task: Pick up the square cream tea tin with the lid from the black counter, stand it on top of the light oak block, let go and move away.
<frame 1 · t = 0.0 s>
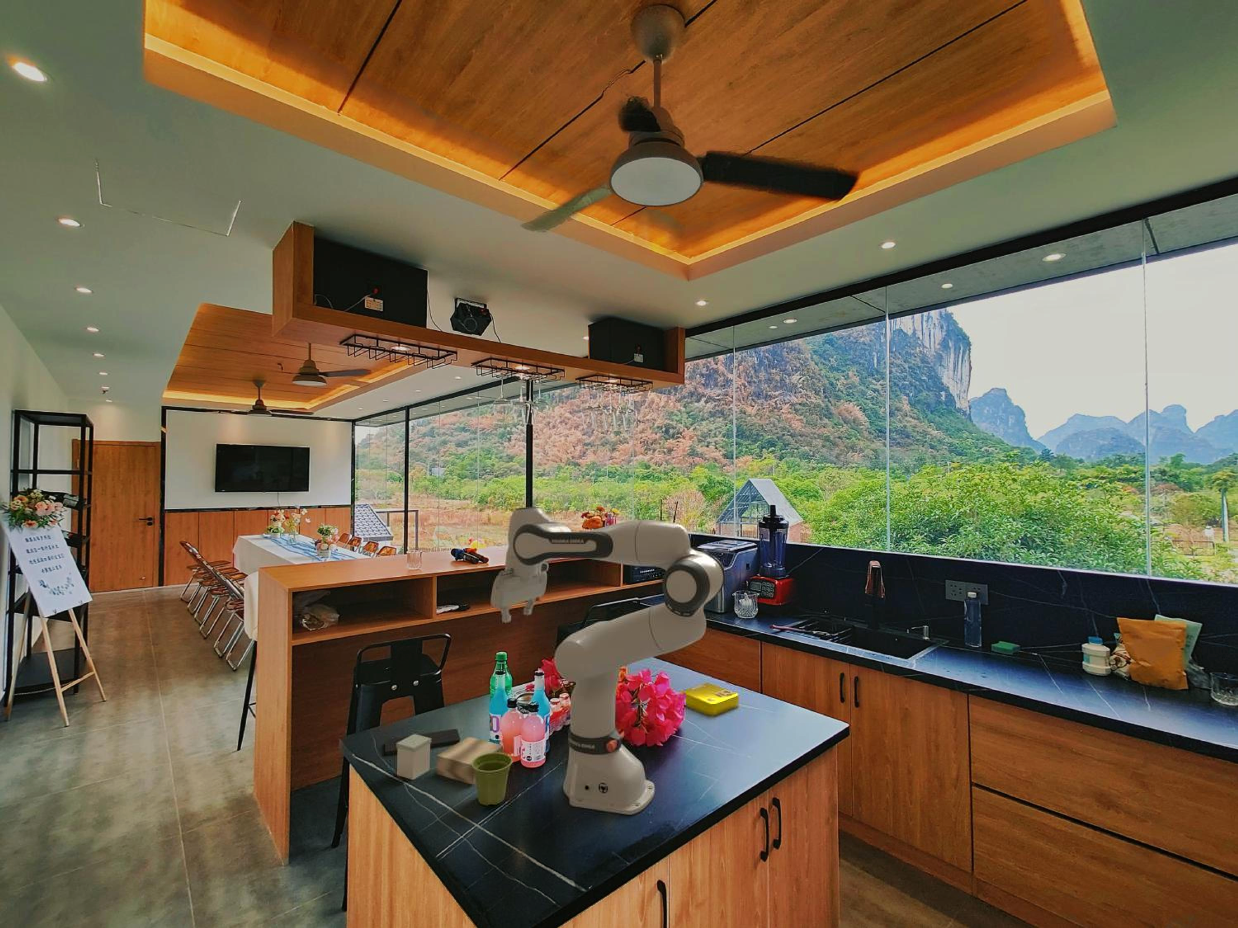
hand: (517, 617, 149), 39 cm above the kitchen island, tool pointing down, fingers open, 8 cm apart
element tile: (709, 705, 190), on the kitchen island
smart home device: (422, 745, 160), on the kitchen island
cream tea tin: (413, 772, 144), on the kitchen island
oak block: (470, 769, 146), on the kitchen island
plant pot: (491, 799, 132), on the kitchen island
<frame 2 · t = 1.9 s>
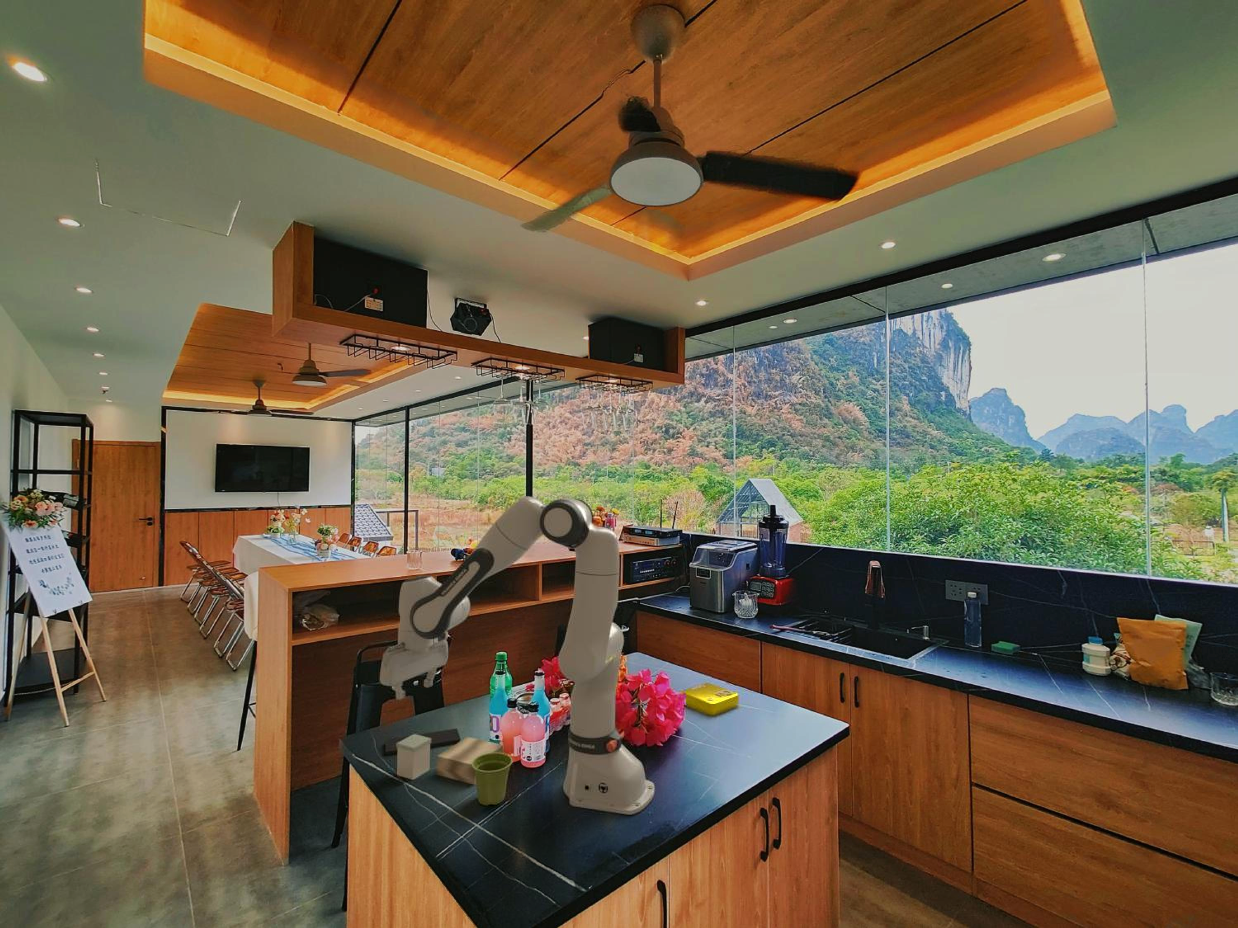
hand: (414, 692, 145), 20 cm above the kitchen island, tool pointing down, fingers open, 8 cm apart
nothing on the kitchen island moved.
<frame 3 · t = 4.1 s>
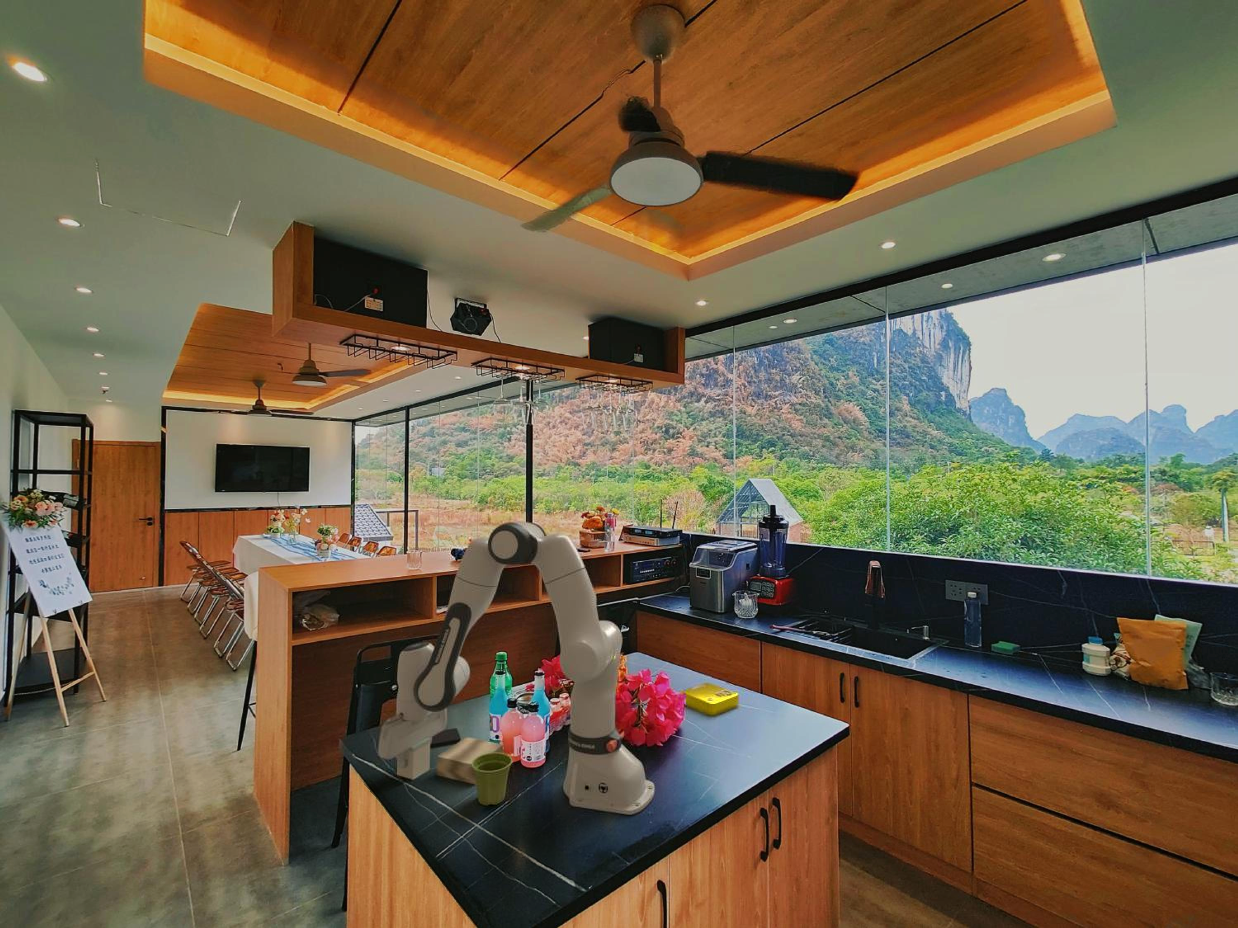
hand: (413, 761, 144), 3 cm above the kitchen island, tool pointing down, fingers closed on cream tea tin, 6 cm apart
cream tea tin: (413, 771, 144), on the kitchen island, touching gripper
everything else where it was.
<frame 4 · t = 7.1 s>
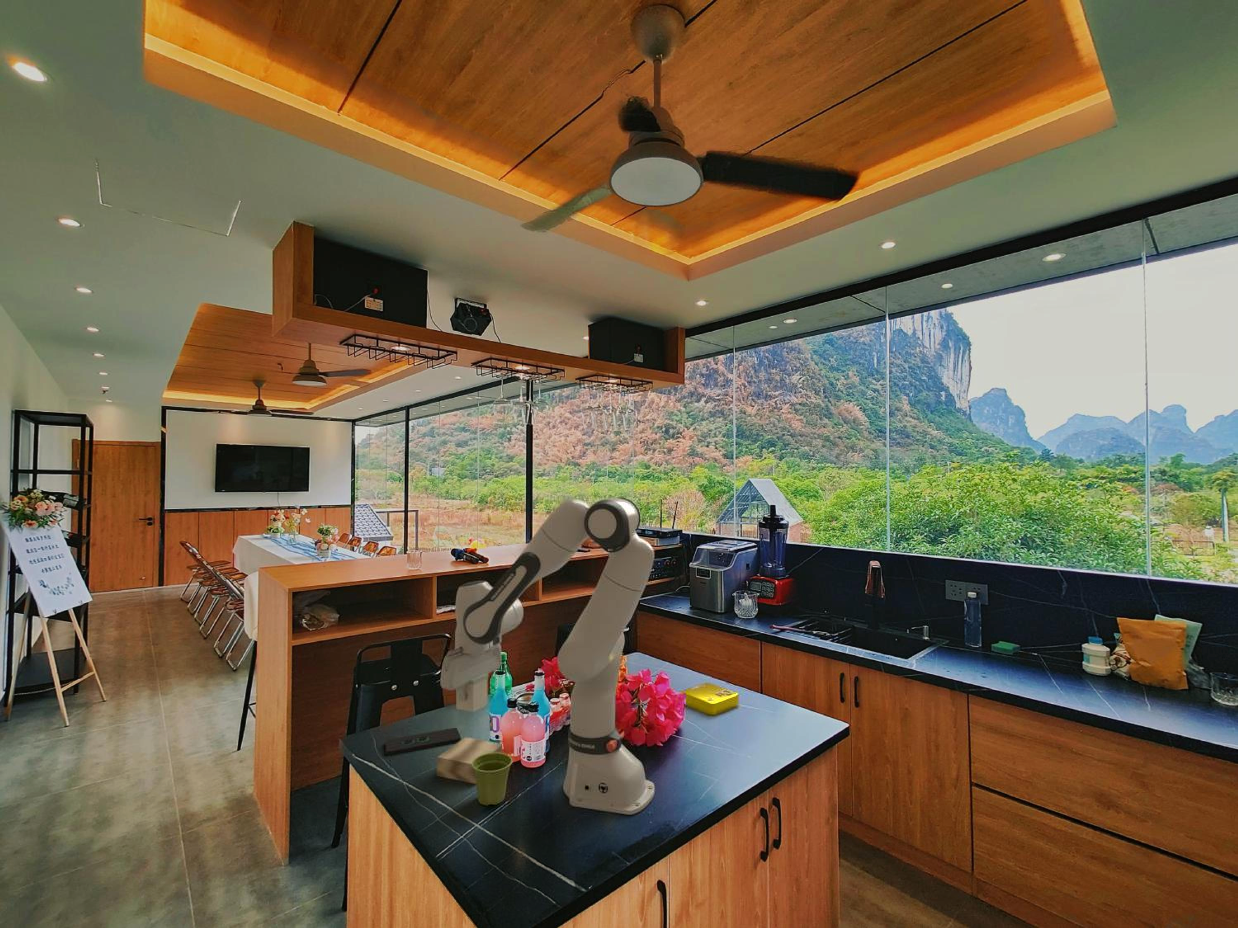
hand: (472, 695, 146), 19 cm above the kitchen island, tool pointing down, fingers closed on cream tea tin, 6 cm apart
cream tea tin: (472, 706, 146), point 16 cm above the kitchen island, touching gripper
everything else where it was.
when the fingers open (8 cm above the kitchen island, at t = 10.4 s): cream tea tin drops 1 cm, point 5 cm above the kitchen island.
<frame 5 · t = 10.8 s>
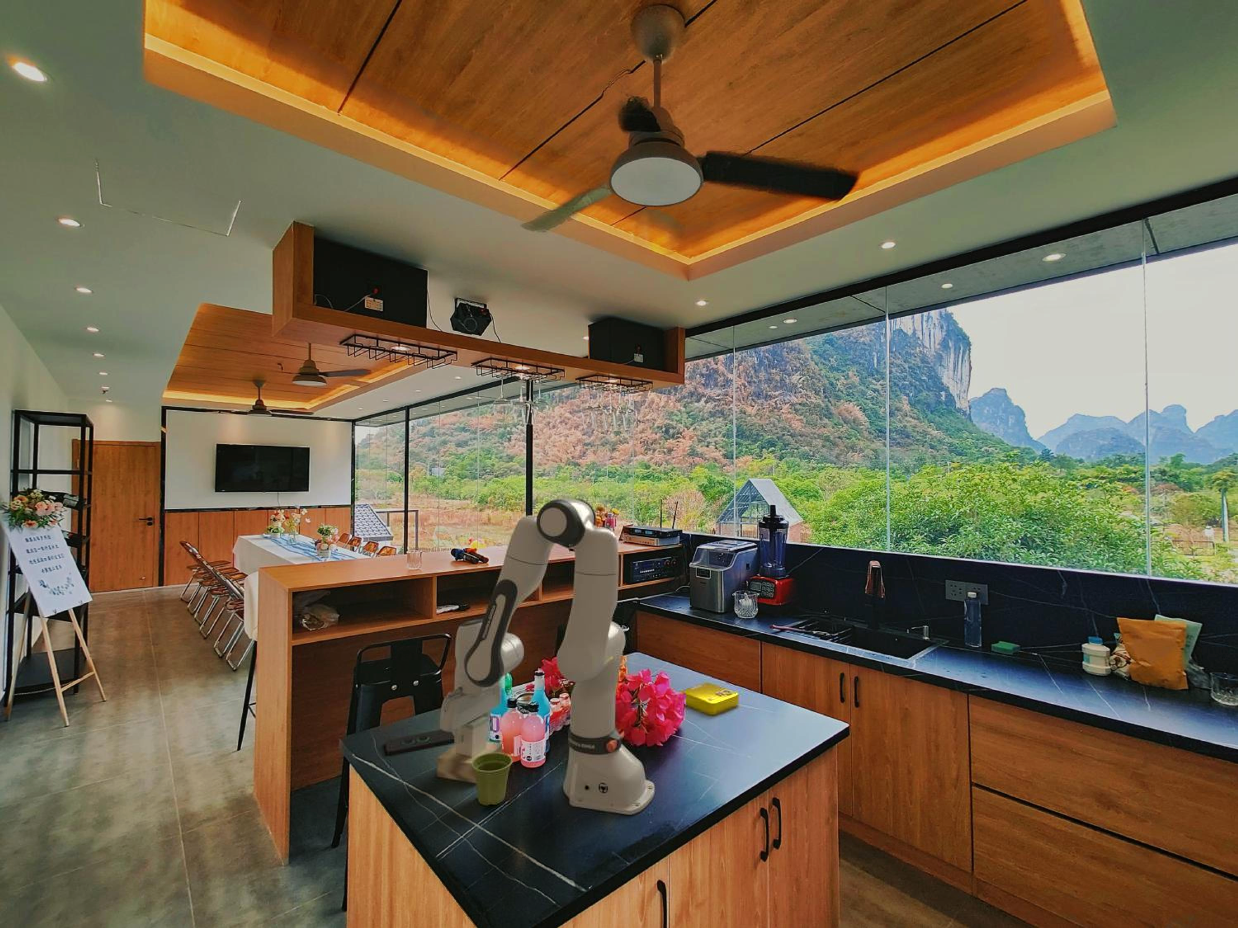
hand: (471, 735, 146), 8 cm above the kitchen island, tool pointing down, fingers open, 8 cm apart
cream tea tin: (470, 750, 146), point 5 cm above the kitchen island
everything else where it was.
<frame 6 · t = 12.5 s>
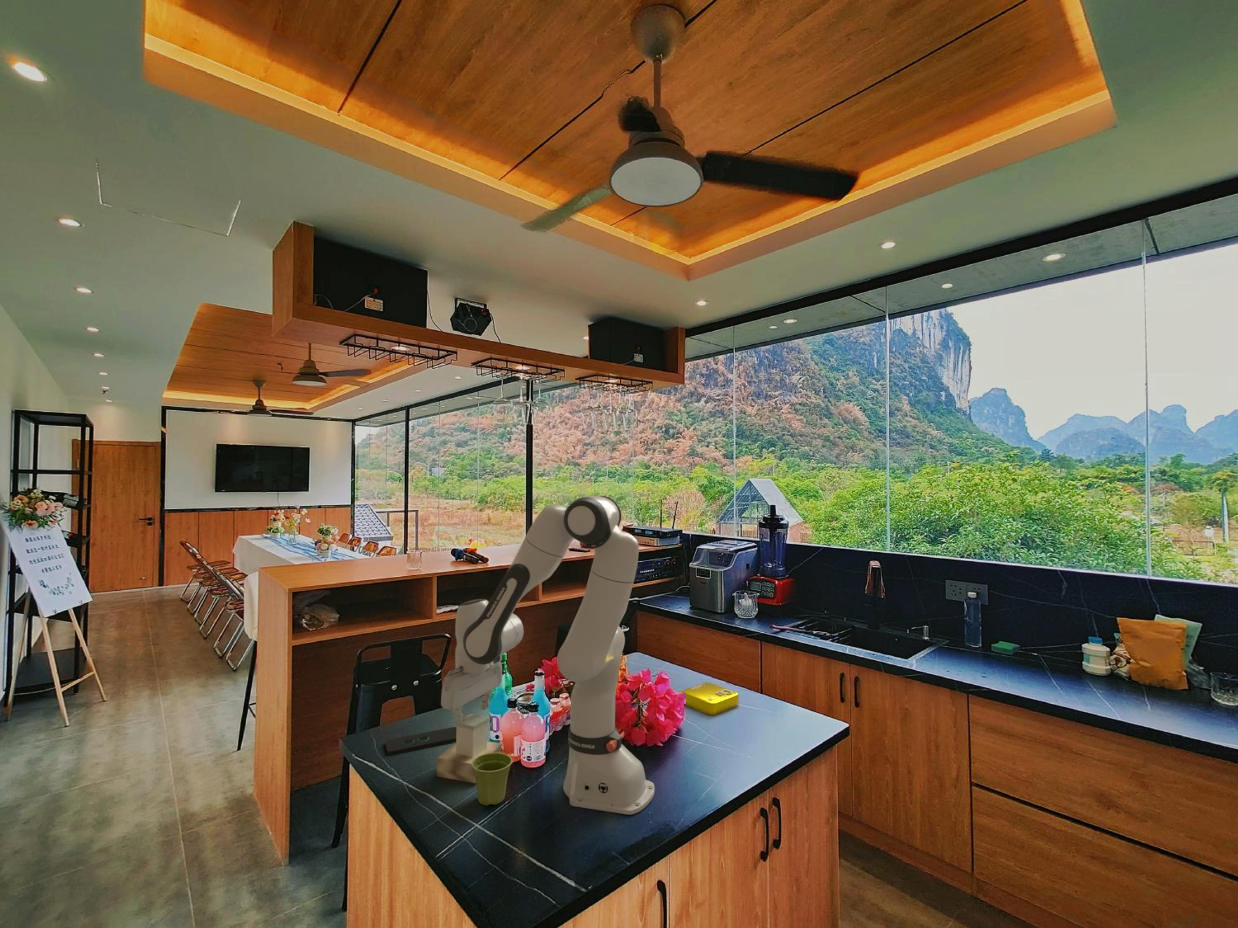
hand: (472, 714, 146), 14 cm above the kitchen island, tool pointing down, fingers open, 8 cm apart
cream tea tin: (471, 750, 146), point 5 cm above the kitchen island, touching oak block
oak block: (470, 769, 146), on the kitchen island, touching cream tea tin
everything else where it was.
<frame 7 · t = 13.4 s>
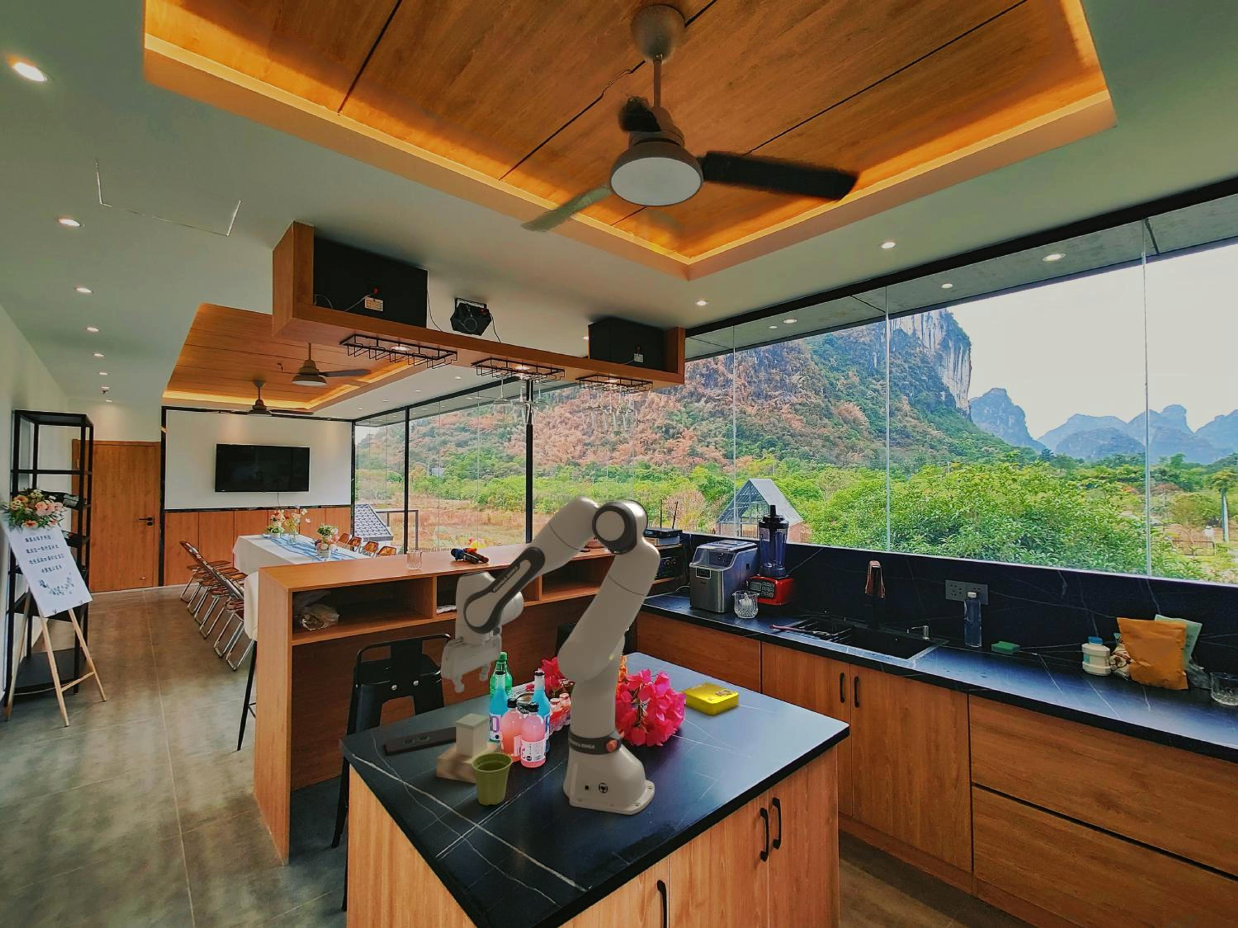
hand: (471, 685, 147), 21 cm above the kitchen island, tool pointing down, fingers open, 8 cm apart
nothing on the kitchen island moved.
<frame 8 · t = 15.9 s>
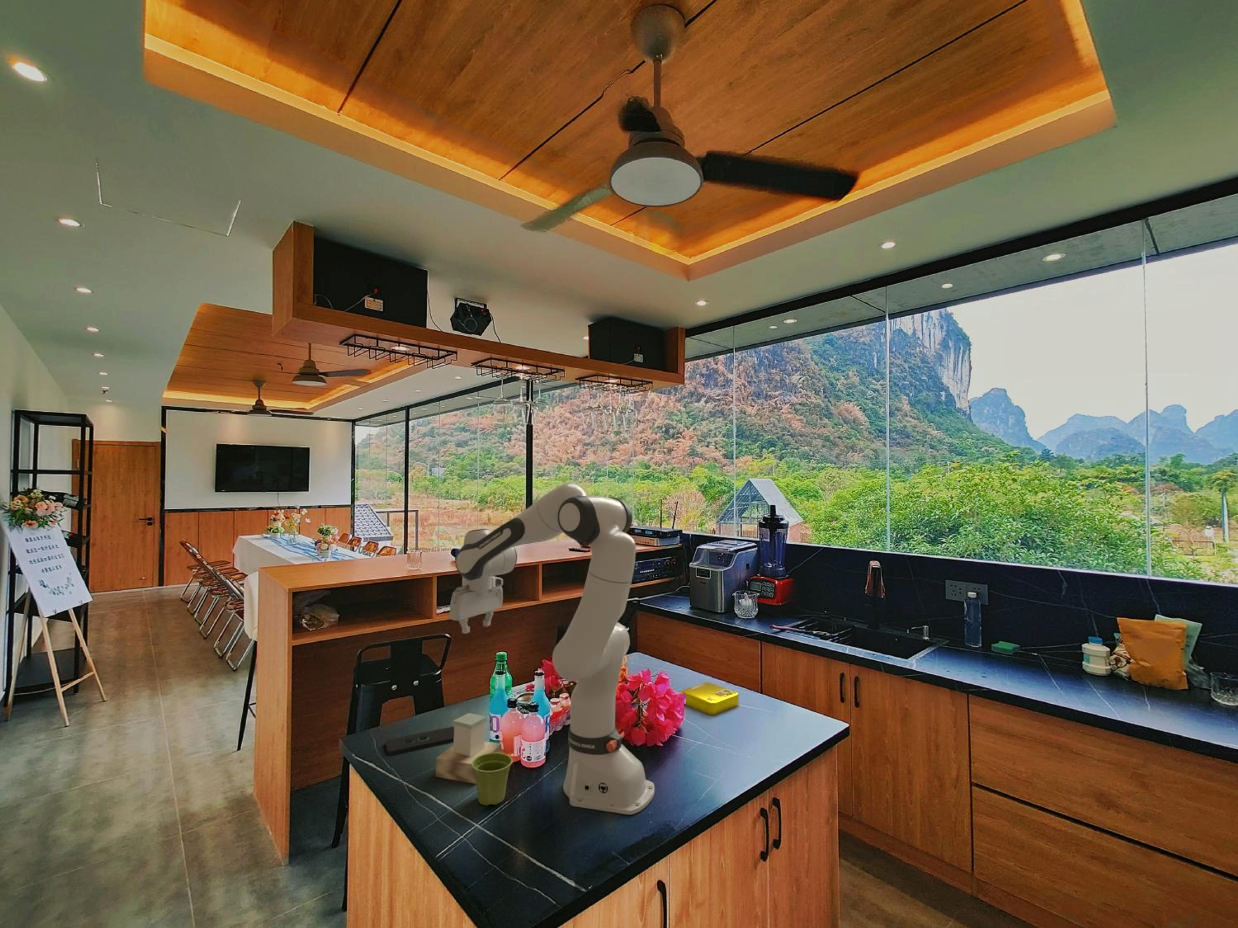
hand: (476, 629, 167), 31 cm above the kitchen island, tool pointing down, fingers open, 8 cm apart
cream tea tin: (469, 749, 146), point 5 cm above the kitchen island
oak block: (469, 769, 146), on the kitchen island
at the end: cream tea tin inside the target area on the oak block (0.4 cm from its centre), point 5.0 cm above the oak block's base; cream tea tin tilted 0°; the gripper is holding nothing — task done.
